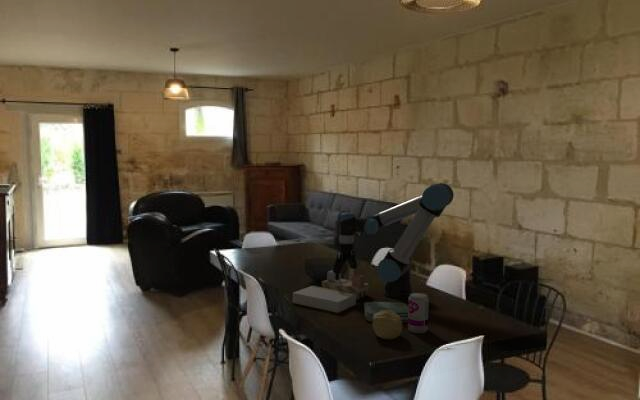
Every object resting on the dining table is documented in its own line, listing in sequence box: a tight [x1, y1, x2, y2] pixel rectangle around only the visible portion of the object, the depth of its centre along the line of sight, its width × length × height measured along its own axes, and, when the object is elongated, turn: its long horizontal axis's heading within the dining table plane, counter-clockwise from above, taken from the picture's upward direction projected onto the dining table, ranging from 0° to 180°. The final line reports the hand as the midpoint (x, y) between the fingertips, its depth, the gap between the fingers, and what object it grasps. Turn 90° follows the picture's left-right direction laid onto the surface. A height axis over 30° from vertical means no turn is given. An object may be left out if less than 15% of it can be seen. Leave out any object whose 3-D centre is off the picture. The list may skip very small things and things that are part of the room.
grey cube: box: [326, 269, 335, 282], centre depth 269 cm, size 5×5×5 cm
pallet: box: [321, 278, 370, 301], centre depth 265 cm, size 22×11×6 cm, turn 56°
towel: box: [363, 301, 408, 323], centre depth 232 cm, size 18×21×5 cm
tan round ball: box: [372, 310, 403, 340], centre depth 206 cm, size 12×12×11 cm
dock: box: [292, 285, 357, 314], centre depth 249 cm, size 26×16×5 cm, turn 56°
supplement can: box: [407, 292, 430, 334], centre depth 213 cm, size 8×8×15 cm
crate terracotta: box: [352, 273, 366, 287], centre depth 261 cm, size 5×5×5 cm
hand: (344, 283), depth 265 cm, fingers open, 13 cm apart
